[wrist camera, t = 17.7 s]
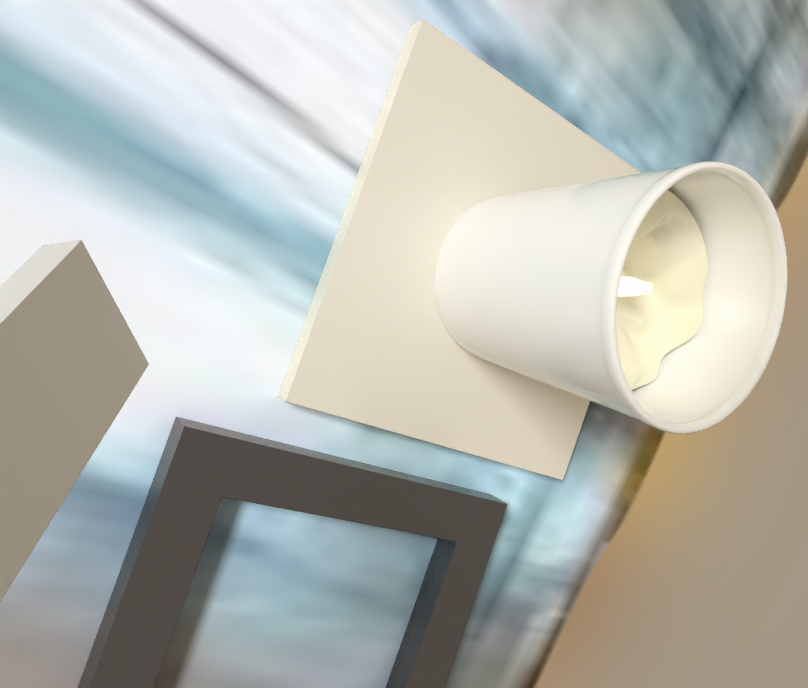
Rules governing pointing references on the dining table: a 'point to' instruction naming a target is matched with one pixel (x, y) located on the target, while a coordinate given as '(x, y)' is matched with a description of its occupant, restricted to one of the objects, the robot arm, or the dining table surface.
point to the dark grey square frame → (300, 491)
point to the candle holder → (624, 289)
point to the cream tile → (416, 258)
